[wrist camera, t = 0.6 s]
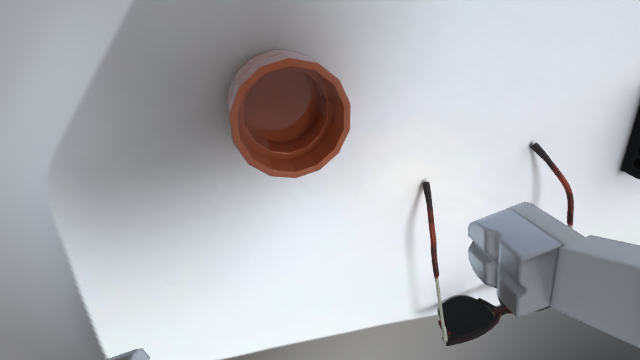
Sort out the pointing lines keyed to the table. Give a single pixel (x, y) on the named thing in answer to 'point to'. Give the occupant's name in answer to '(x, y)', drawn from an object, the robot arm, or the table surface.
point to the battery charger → (633, 152)
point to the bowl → (287, 114)
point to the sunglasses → (467, 312)
